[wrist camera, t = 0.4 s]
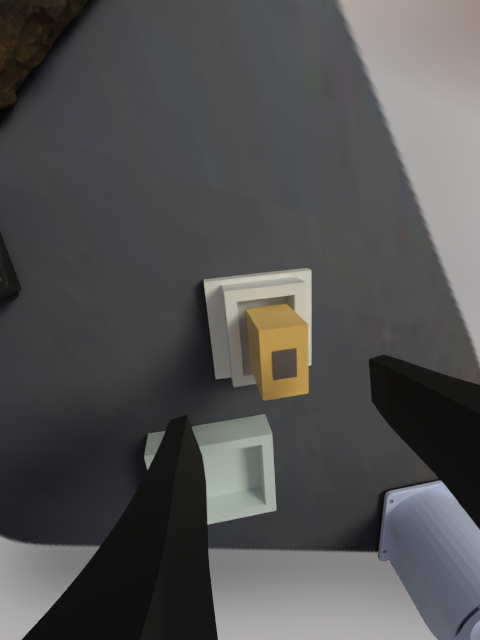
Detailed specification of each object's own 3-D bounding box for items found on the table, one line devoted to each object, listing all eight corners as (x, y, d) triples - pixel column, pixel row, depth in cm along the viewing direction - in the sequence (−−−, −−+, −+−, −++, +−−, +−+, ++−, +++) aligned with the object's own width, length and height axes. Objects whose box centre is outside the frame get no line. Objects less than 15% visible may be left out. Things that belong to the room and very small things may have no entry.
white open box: (307, 360, 23) (321, 377, 20) (214, 373, 22) (218, 393, 20) (306, 267, 20) (322, 275, 18) (203, 279, 20) (205, 288, 17)
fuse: (280, 350, 21) (308, 394, 16) (245, 356, 21) (263, 401, 16) (278, 296, 20) (309, 324, 15) (241, 300, 20) (259, 331, 15)
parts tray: (269, 486, 27) (276, 510, 24) (164, 506, 25) (162, 533, 23) (265, 414, 24) (272, 433, 22) (148, 433, 23) (144, 456, 21)
